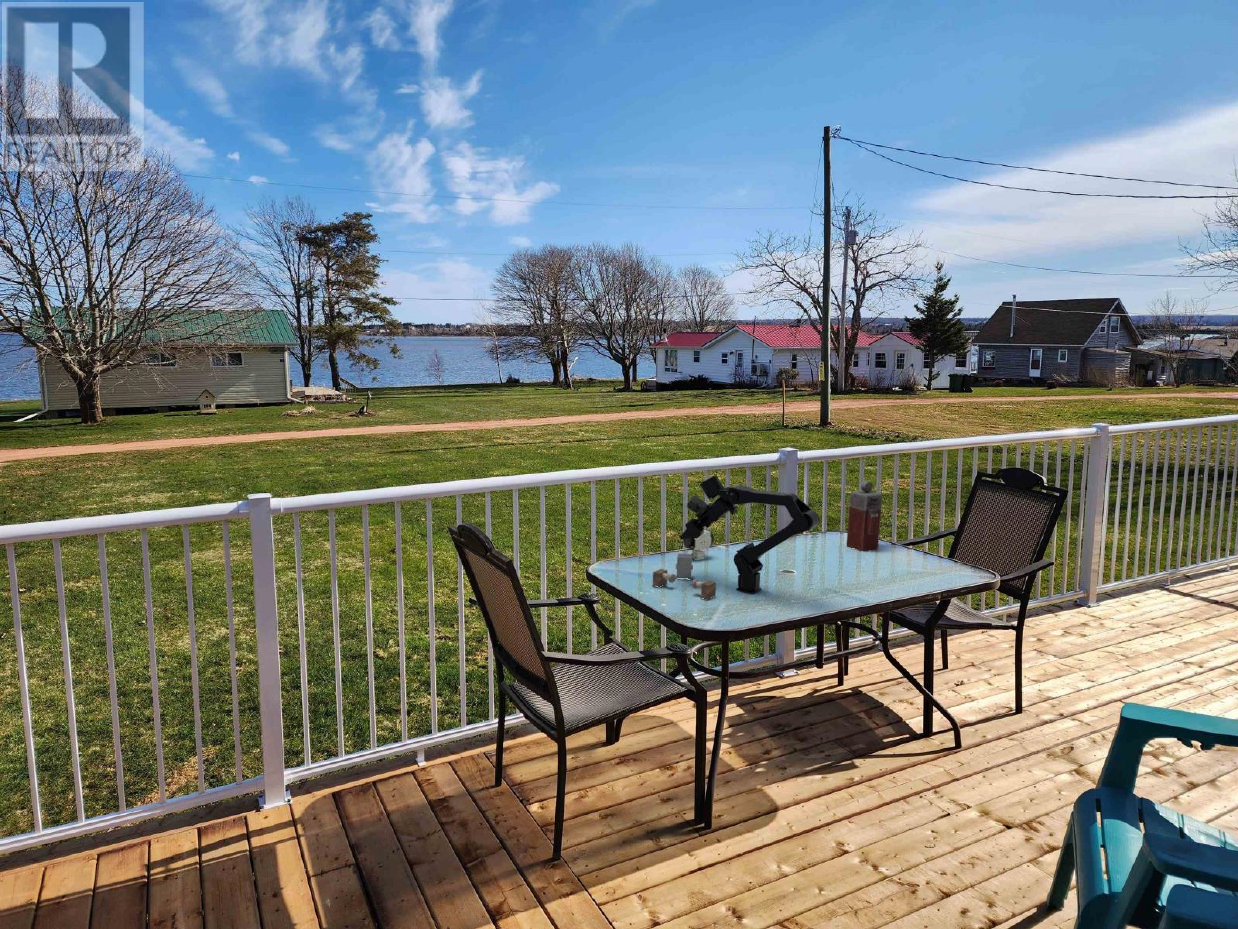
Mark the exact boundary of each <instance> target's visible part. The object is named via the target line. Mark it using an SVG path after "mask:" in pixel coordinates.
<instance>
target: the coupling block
mask: <svg viewBox="0 0 1238 929" xmlns="http://www.w3.org/2000/svg"><path fill="white" fill-rule="evenodd" d="M676 561H677V563H675V569H676V579H677V578H688V579H691V580H692V571H693V570H694V564H693V559H692V554H691V553H677V559H676Z"/></svg>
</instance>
